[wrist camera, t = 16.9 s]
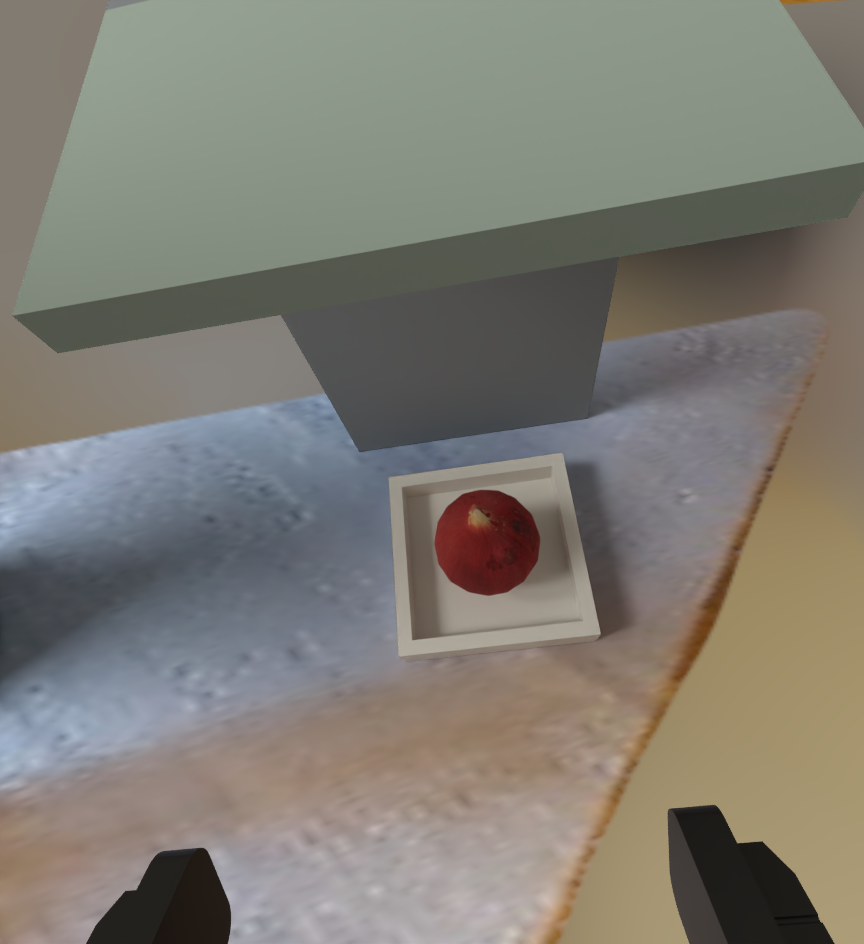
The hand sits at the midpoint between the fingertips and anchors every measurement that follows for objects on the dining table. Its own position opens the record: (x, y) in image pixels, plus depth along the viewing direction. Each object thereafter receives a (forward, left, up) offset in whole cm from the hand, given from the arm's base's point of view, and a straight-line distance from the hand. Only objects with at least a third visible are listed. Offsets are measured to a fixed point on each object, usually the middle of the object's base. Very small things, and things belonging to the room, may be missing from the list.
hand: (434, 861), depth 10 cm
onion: (-8, +9, -23) cm, 26 cm away
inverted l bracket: (-12, +11, -23) cm, 28 cm away
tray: (-8, +9, -23) cm, 26 cm away
